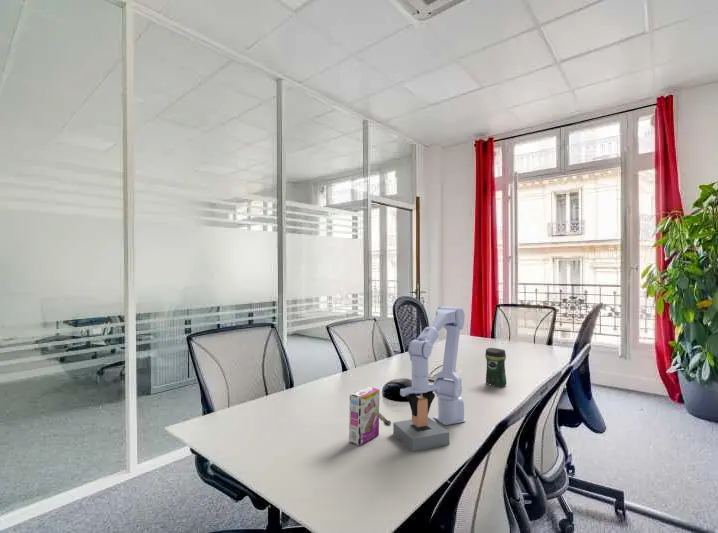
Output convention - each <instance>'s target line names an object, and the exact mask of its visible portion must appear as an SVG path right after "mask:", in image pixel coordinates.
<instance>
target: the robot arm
mask: <svg viewBox="0 0 718 533" xmlns="http://www.w3.org/2000/svg"><path fill="white" fill-rule="evenodd" d="M465 317H466V315H465V312H464V309H463V307H461V306H459V307H456V306H455V307H454V306H442V305H439V306H438V307H437V309H435V317H434V319H433V321H432V322H431V324H430V326H426V327H424V329H423V330H422V331H421V333H420V334H419V335H418V336H417V338H416V339H413V340H411V341H410V342H409V344H408V348H407V350H408V351H407V353H408V354H409V360H410V362H411V386H407V387H405V388H404V387H403V388H400V391H399V395H400V396H401V397H406V399H407V402H408V404H409V406H410V410H411V416H412V415H414V416H417V404H418V399H419V398H418V397H416V396H417V395H419V394H421V396H423V397H425V398H427V399H428V414H429V413H430V408H431V405H432V402H433V401H434V399H435V398H436V397H437V399H438V400H437V402H438V403H437V404H438V405H437V408H438V409H437V410H438V412H437V415H435V416H433V419H435V420H437V422H440V423H441V424H442V425H444V426H449V425H453V424H459V423H464V422H466V419H465V403H464V400H463V398H462V397H461V396H462V394H463V393H462V392H463V384H462V378H461V377H460V376H459V375H458V373H457V371H456V369H457V360H458V351H459V340H460V331H461V330H463V329H464V325H465ZM443 328H444V329H445V330H446V335H445V336H446V337H445V344H444V346H445V347H444V353H443V361H442V362H443V363H442V370H441V371H439V372H438V373H436V375H435V378H434V381H433V384H429V357H430V356H432V355H431V354H432V350H433V349H434V348H433V346H434V345H435V343H436V341H437V340H438V339H439V336H440V335H439V332H440V331H441V330H442V329H443Z"/></svg>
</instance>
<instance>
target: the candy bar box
mask: <svg viewBox="0 0 718 533" xmlns="http://www.w3.org/2000/svg"><path fill="white" fill-rule="evenodd" d="M379 413H380V389H379V388H376V387H375V388H374V387H371V386H367V387H365V388H363V389H360V390H358V391H354V392H353V393H349V428H348V429H349V435H348V436H349V438H348V442H349V443H351V444H354V445H356V446H357V447H361V446H362V445H364V444H365V443H367V442H370V440H373V439H374V438H376V437H378V436H379V435H380V417H379Z"/></svg>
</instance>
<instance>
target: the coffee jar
mask: <svg viewBox="0 0 718 533" xmlns="http://www.w3.org/2000/svg"><path fill="white" fill-rule="evenodd" d="M484 356H485V359H486V360H485V361H486V371H485V372H486V374H485V384H487V383H488V384H491V385H495V386H494V387H496V386H500V387H499V388H501V387H502V386H504V387H506V386H507V376H506V367H505V366H506V364H505V362H506V358H507V355H506V351H505V349H503V348H502V349H501V348H494V347H488V348H486V349H485V355H484ZM488 384H487V385H488ZM491 385H490V386H491ZM505 385H506V386H505ZM502 388H503V387H502Z"/></svg>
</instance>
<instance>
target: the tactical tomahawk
mask: <svg viewBox="0 0 718 533" xmlns="http://www.w3.org/2000/svg"><path fill="white" fill-rule="evenodd" d="M379 419H381V421H382V422H384V423H385V424H387V425H391V424H392V421H391V420H388V419H386V417H385V416H384V415H382V413H380V412H379Z"/></svg>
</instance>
